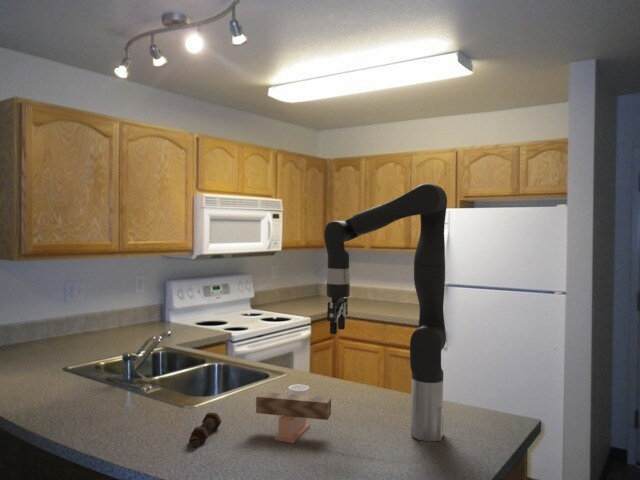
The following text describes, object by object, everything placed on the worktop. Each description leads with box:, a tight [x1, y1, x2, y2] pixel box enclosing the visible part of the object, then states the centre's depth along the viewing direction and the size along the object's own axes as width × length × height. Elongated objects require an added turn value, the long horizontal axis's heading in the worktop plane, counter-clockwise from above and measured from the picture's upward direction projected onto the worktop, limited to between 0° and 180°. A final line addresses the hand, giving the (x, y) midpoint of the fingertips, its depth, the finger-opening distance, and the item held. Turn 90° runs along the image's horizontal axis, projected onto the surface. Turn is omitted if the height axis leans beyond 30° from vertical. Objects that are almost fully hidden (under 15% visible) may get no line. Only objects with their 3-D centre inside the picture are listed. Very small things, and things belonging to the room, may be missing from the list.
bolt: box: [188, 412, 222, 447], centre depth 155 cm, size 6×5×15 cm
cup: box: [283, 383, 310, 396], centre depth 180 cm, size 7×10×8 cm
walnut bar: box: [255, 391, 332, 421], centre depth 159 cm, size 22×5×5 cm, turn 77°
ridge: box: [274, 416, 311, 444], centre depth 159 cm, size 6×13×6 cm, turn 160°
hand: (337, 331), depth 173 cm, fingers open, 8 cm apart
